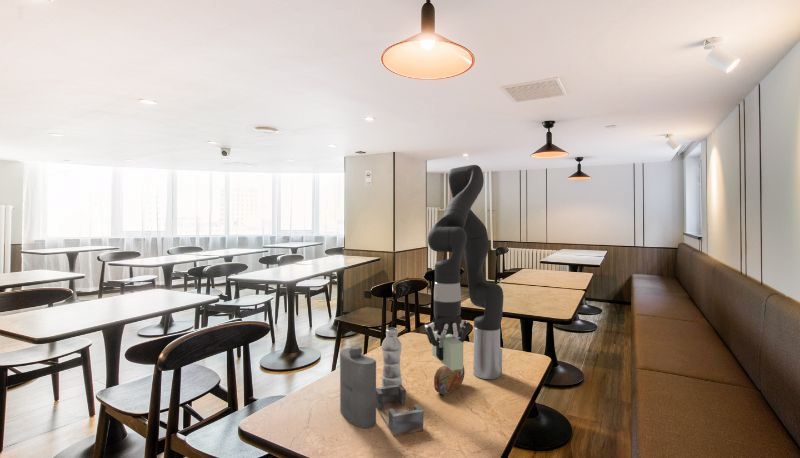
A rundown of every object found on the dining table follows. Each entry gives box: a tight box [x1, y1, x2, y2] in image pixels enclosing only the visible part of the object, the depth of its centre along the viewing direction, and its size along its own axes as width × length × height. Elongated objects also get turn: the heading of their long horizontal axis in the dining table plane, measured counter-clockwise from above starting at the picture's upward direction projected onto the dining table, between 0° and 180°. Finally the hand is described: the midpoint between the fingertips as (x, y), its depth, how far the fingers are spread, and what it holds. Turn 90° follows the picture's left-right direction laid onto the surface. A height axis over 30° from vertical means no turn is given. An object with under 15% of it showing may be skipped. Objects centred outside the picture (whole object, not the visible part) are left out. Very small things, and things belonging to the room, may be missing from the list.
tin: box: [433, 364, 465, 396], centre depth 127 cm, size 15×3×8 cm, turn 139°
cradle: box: [376, 384, 424, 437], centre depth 109 cm, size 8×17×5 cm, turn 20°
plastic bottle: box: [381, 327, 403, 387], centre depth 126 cm, size 6×7×20 cm
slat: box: [432, 330, 464, 370], centre depth 108 cm, size 4×12×7 cm, turn 20°
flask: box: [339, 345, 377, 429], centre depth 109 cm, size 15×6×20 cm, turn 37°
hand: (447, 358), depth 108 cm, fingers closed on slat, 3 cm apart
